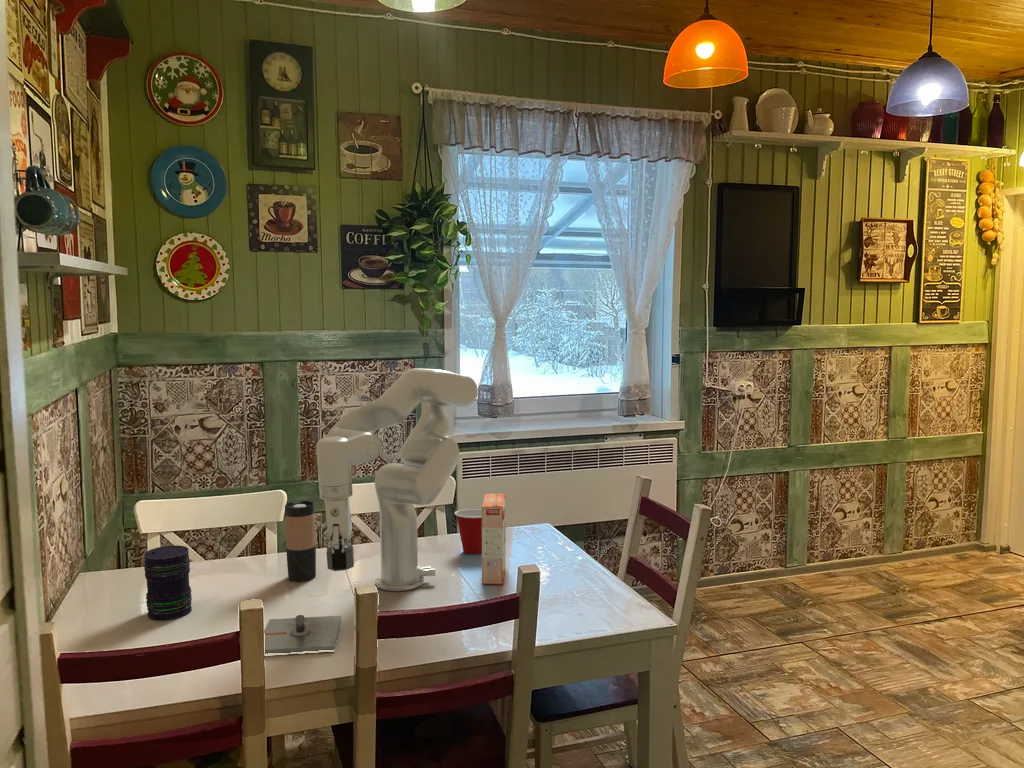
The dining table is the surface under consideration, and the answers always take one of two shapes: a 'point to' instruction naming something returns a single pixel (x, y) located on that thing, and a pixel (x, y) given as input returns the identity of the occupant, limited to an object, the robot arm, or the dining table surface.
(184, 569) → the storage jar
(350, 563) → the knob
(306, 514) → the travel mug
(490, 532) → the cracker box
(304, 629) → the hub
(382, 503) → the robot arm
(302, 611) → the dining table surface
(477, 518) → the plastic cup
